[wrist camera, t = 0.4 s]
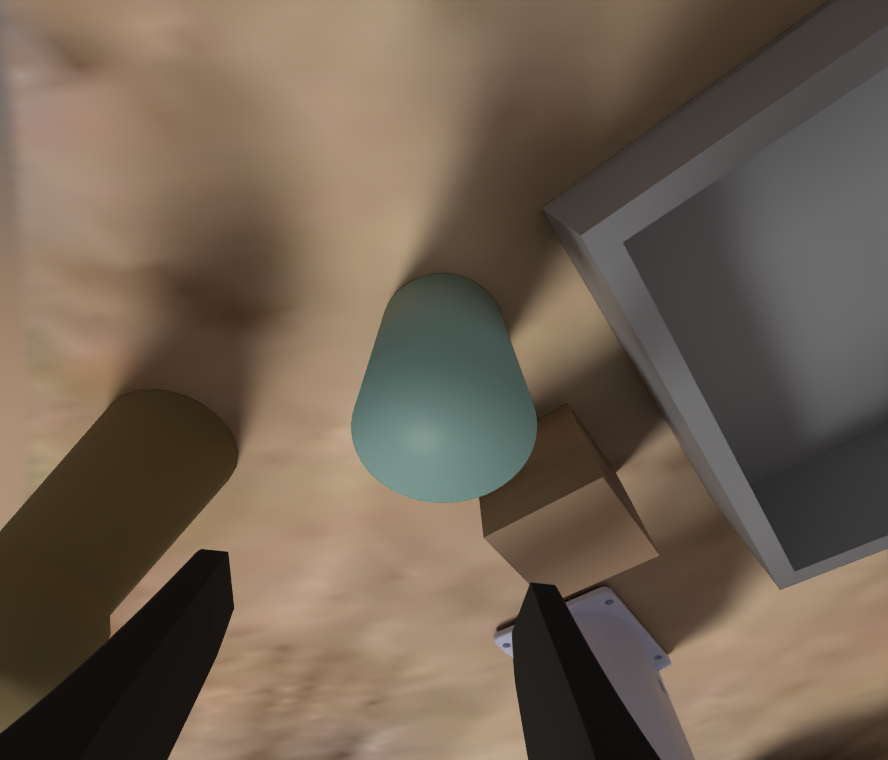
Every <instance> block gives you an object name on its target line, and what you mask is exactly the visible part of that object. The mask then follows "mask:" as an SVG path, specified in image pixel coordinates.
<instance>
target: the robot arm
mask: <svg viewBox="0 0 888 760" xmlns="http://www.w3.org/2000/svg"><path fill="white" fill-rule="evenodd" d="M233 610H234V602H233V593H232V583H231V574H230V564H229V555H228V552H225V551H215V550H205V549H201V550H199V551H198V552H196V553H195V554H194V555H193V556H192V557H191V559H190V560H189V561H188V562H187V563H186V564H185V565H184V566H183V567H182V568H181V569H180V570H179V571H178V572H177V573H176V574H175V575H174V576H173V577H172V578H171V579H170V580H169V581H168V582H167V583H166V584H165V585H164V586H163V587H162V588H161V589H160V590H159V591H158V592H157V593H156V594H155V595H154V596H153V597H152V598H151V599H150V600H149V601H148V602H147V603H146V604H145V605H144V606H143V607H142V608H141V609H140V610H139V611H138V612H137V613H136V614H135V615H134V616H133V617H132V618H131V619H130V620H129V621H128V622H127V623H126V624H125V625H124V626H122V627H121V628H120V629H119V630H118V631H117V632H116V633H115V634H114V635H113V636H112V637H111V638H110V639H109V640H108V641H107V642H106V643H105V644H103V645H102V646H101V647H100V648H99V649H98V650H97V651H96V652H95V653H94V654H92V655H91V656H90V657H89V658H88V659H87V660H86V661H85V662H83V663H82V664H81V665H80V666H79V667H78V668H77V669H76V670H74V671H73V672H72V673H71V674H70V675H69V676H68V677H67V678H66V679H64V680H63V681H62V682H61V683H60V684H59V685H58V686H56V687H55V688H54V689H53V690H52V691H51V692H50V693H48V694H47V695H46V696H45V697H44V698H42V699H41V700H40V701H39V702H38V703H37V704H35V705H34V706H33V707H32V708H31V709H29V710H28V711H27V712H26V713H25V714H23V715H22V716H21V717H20V718H18V719H17V720H16V721H15V722H14V723H12V724H11V725H10V726H9V727H7V728H6V729H5V730H4V731H2V732H1V733H0V760H167V759H168V757H169V755H170V753H171V751H172V749H173V747H174V745H175V743H176V741H177V739H178V737H179V734H180V732H181V730H182V728H183V726H184V724H185V722H186V720H187V718H188V716H189V714H190V711H191V709H192V707H193V705H194V703H195V701H196V699H197V697H198V695H199V693H200V691H201V688H202V686H203V684H204V682H205V680H206V678H207V676H208V674H209V672H210V669H211V667H212V665H213V663H214V661H215V659H216V657H217V654H218V651H219V649H220V646H221V643H222V641H223V638H224V635H225V632H226V630H227V627H228V624H229V621H230V618H231V615H232V612H233ZM494 642H495V644H496V645H498V646H499V647H500V648H501V649H502V650H503V651H505V652H506V653H507V654H508V655H509V656H510V657H512V658H513V663H514V676H515V684H516V691H517V697H518V703H519V709H520V715H521V721H522V726H523V732H524V738H525V744H526V749H527V755H528V760H695V758H694V756H693V754H692V751H691V749H690V746H689V744H688V741H687V739H686V737H685V734H684V732H683V729H682V727H681V725H680V722H679V720H678V717H677V715H676V712H675V710H674V708H673V705H672V703H671V700H670V698H669V695H668V693H667V691H666V688H665V686H664V683H663V681H662V678H661V676H660V674H659V670H662V669H665V668H667V667H669V666H670V665H671V661H670V658H669V656H668V655H667V654H666V653H665V652H664V650H663V649H662V648H661V647H660V646H659V645H658V643H657V642H656V641H655V640H654V639H653V638H652V636H651V635H650V634H649V633H648V632H647V631H646V629H645V628H644V627H643V626H642V625H641V623H640V622H639V621H638V620H637V619H636V618H635V616H634V615H633V614H632V613H631V612H630V611H629V609H628V608H627V607H626V606H625V605H624V604H623V602H622V601H621V600H620V599H619V598H618V596H617V595H616V594H615V593H614V592H613V591H612V589H610V588H609V587H600V588H597V589H595V590H593V591H590V592H588V593H586V594H584V595H581V596H579V597H577V598H574V599H572V600H570V601H567V602H565V601H564V599H563V597H562V596H561V594H560V592H559V590H558V588H557V587H556V586H555V585H552V584H542V583H532V582H531V583H530V585H529V588H528V591H527V593H526V596H525V599H524V601H523V604H522V607H521V609H520V612H519V615H518V617H517V620H516V623H515V624H514V625H512V626H510V627H507V628H505V629H503V630H501V631H498V632H497V633H495V634H494Z"/></svg>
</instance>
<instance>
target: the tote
mask: <svg viewBox="0 0 888 760" xmlns="http://www.w3.org/2000/svg"><path fill="white" fill-rule="evenodd" d="M541 209H542V211H543V212H544V214H545V216H546V218H547V219H548V221H549V223H550V224H551V226H552V228H553V229H554V231H555V233H556V235H557V236H558V238H559V240H560V241H561V243H562V245H563V246H564V248H565V250H566V252H567V253H568V255H569V257H570V258H571V260H572V262H573V263H574V265H575V267H576V269H577V270H578V272H579V274H580V275H581V277H582V279H583V280H584V282H585V284H586V286H587V287H588V289H589V291H590V292H591V294H592V296H593V297H594V299H595V301H596V303H597V304H598V306H599V308H600V309H601V311H602V313H603V314H604V316H605V318H606V320H607V321H608V323H609V325H610V326H611V328H612V330H613V331H614V333H615V335H616V337H617V338H618V340H619V342H620V343H621V345H622V347H623V348H624V350H625V352H626V354H627V355H628V357H629V359H630V360H631V362H632V364H633V365H634V367H635V369H636V371H637V372H638V374H639V376H640V377H641V379H642V381H643V382H644V384H645V386H646V388H647V389H648V391H649V393H650V394H651V396H652V398H653V400H654V401H655V403H656V405H657V406H658V408H659V410H660V411H661V413H662V415H663V417H664V418H665V420H666V422H667V423H668V425H669V427H670V428H671V430H672V432H673V434H674V435H675V437H676V439H677V440H678V442H679V444H680V445H681V447H682V449H683V451H684V452H685V454H686V456H687V457H688V459H689V461H690V462H691V464H692V466H693V468H694V469H695V471H696V473H697V474H698V476H699V478H700V479H701V481H702V483H703V485H704V486H705V488H706V490H707V491H708V493H709V495H710V496H711V498H712V500H713V502H714V503H715V504H716V506H717V507H718V508H719V510H720V511H721V512H722V514H723V515H724V516H725V518H726V519H727V520H728V522H729V523H730V524H731V526H732V527H733V528H734V530H735V531H736V532H737V533H738V535H739V536H740V537H741V539H742V540H743V541H744V543H745V544H746V545H747V547H748V548H749V549H750V551H751V552H752V553H753V555H754V556H755V557H756V559H757V560H758V561H759V563H760V564H761V565H762V567H763V568H764V569H765V570H766V572H767V573H768V574H769V576H770V577H771V578H772V580H773V581H774V582H775V584H776V585H777V586H778V588H779V589H780V590H781V589H784V588H786V587H789V586H792V585H794V584H797V583H799V582H802V581H805V580H807V579H810V578H812V577H815V576H818V575H820V574H823V573H825V572H828V571H831V570H833V569H836V568H838V567H841V566H844V565H846V564H849V563H851V562H854V561H857V560H859V559H862V558H864V557H867V556H870V555H872V554H875V553H877V552H880V551H883V550H885V549H888V0H828V1H827V2H825V3H824V4H822V5H821V6H820V7H818V8H817V9H816V10H814V11H813V12H811V13H810V14H809V15H807V16H806V17H805V18H803V19H802V20H800V21H799V22H798V23H796V24H795V25H793V26H792V27H791V28H789V29H788V30H787V31H785V32H784V33H782V34H781V35H780V36H778V37H777V38H776V39H774V40H773V41H771V42H770V43H769V44H767V45H766V46H765V47H763V48H762V49H760V50H759V51H758V52H756V53H755V54H754V55H752V56H751V57H749V58H748V59H747V60H745V61H744V62H743V63H741V64H740V65H738V66H737V67H736V68H734V69H733V70H731V71H730V72H729V73H727V74H726V75H725V76H723V77H722V78H720V79H719V80H718V81H716V82H715V83H714V84H712V85H711V86H709V87H708V88H707V89H705V90H704V91H703V92H701V93H700V94H698V95H697V96H696V97H694V98H693V99H692V100H690V101H689V102H687V103H686V104H685V105H683V106H682V107H680V108H679V109H678V110H676V111H675V112H674V113H672V114H671V115H669V116H668V117H667V118H665V119H664V120H663V121H661V122H660V123H658V124H657V125H656V126H654V127H653V128H652V129H650V130H649V131H647V132H646V133H645V134H643V135H642V136H641V137H639V138H638V139H636V140H635V141H634V142H632V143H631V144H630V145H628V146H627V147H625V148H624V149H623V150H621V151H620V152H618V153H617V154H616V155H614V156H613V157H612V158H610V159H609V160H607V161H606V162H605V163H603V164H602V165H601V166H599V167H598V168H596V169H595V170H594V171H592V172H591V173H590V174H588V175H587V176H585V177H584V178H583V179H581V180H580V181H579V182H577V183H576V184H574V185H573V186H572V187H570V188H569V189H567V190H566V191H565V192H563V193H562V194H561V195H559V196H558V197H556V198H555V199H554V200H552V201H551V202H550V203H548V204H547V205H545V206H544V207H543V208H541Z"/></svg>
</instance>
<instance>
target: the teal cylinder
mask: <svg viewBox="0 0 888 760" xmlns="http://www.w3.org/2000/svg"><path fill="white" fill-rule="evenodd" d="M351 433H352V439H353V444H354V447H355V450H356V452H357V454H358V456H359V458H360V460H361V462H362V463H363V465H364V466H365V468H366V469H367V470H368V471H369V472H370V473H371V474H372V476H373V477H375V478H376V479H377V480H378V481H379V482H380V483H382V484H383V485H385V486H386V487H388V488H389V489H391V490H393V491H395V492H397V493H399V494H401V495H404V496H406V497H409V498H412V499H416V500H420V501H426V502H434V503H454V502H461V501H467V500H471V499H475V498H478V497H481V496H483V495H486V494H488V493H490V492H492V491H494V490H496V489H498V488H499V487H501V486H503V485H504V484H505V483H507V482H508V481H509V480H511V479H512V478H513V477H514V476H515V475H516V474H517V473H518V472H519V471H520V470H521V468H522V467H523V466H524V464H525V463H526V461H527V460H528V458H529V456H530V454H531V452H532V449H533V447H534V444H535V440H536V435H537V417H536V412H535V408H534V404H533V402H532V399H531V396H530V393H529V390H528V388H527V385H526V382H525V379H524V377H523V374H522V371H521V368H520V365H519V363H518V360H517V357H516V354H515V351H514V349H513V346H512V343H511V340H510V337H509V335H508V332H507V329H506V326H505V323H504V321H503V318H502V315H501V312H500V310H499V308H498V305H497V304H496V302H495V300H494V299H493V297H492V296H491V295H490V294H489V293H488V292H487V291H486V290H485V289H484V288H483V287H482V286H480V285H479V284H478V283H476V282H474V281H472V280H470V279H468V278H466V277H463V276H460V275H455V274H448V273H435V274H430V275H425V276H422V277H419V278H417V279H415V280H412V281H411V282H409V283H407V284H406V285H404V286H403V287H402V288H401V289H400V290H398V291H397V293H396V294H395V295H394V296H393V297H392V299H391V300H390V302H389V303H388V305H387V307H386V309H385V312H384V315H383V318H382V321H381V324H380V328H379V331H378V334H377V337H376V340H375V344H374V347H373V350H372V353H371V356H370V360H369V363H368V366H367V369H366V372H365V376H364V379H363V382H362V385H361V388H360V392H359V395H358V398H357V401H356V404H355V408H354V411H353V415H352V422H351Z"/></svg>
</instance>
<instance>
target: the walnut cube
mask: <svg viewBox="0 0 888 760" xmlns="http://www.w3.org/2000/svg"><path fill="white" fill-rule="evenodd" d="M479 500H480V509H481V518H482V527H483V536H484V538H485V539H486V541H487V542H488V543H489V544H490V545H491V546H492V547H493V548H494V549H495V550H496V551H497V552H498V553H499V554H500V555H501V556H502V557H503V558H504V559H505V560H506V561H507V562H508V563H509V564H510V565H511V566H512V567H513V568H514V569H515V570H516V571H517V572H518V573H519V574H520V575H521V576H522V577H523V578H524V579H525V580H526V581H527V582H528V583H529V584H530V583H531V582H532V583H542V584H552V585H555V586H556V587H557V588H558V590H559V592H560V594H561V596H562V597H563V598H564V597H566V596H568V595H571V594H573V593H575V592H578V591H580V590H582V589H584V588H587V587H589V586H591V585H594V584H596V583H598V582H600V581H603V580H605V579H607V578H610V577H612V576H614V575H616V574H619V573H621V572H623V571H626V570H628V569H630V568H632V567H635V566H637V565H639V564H642V563H644V562H646V561H648V560H651V559H653V558H655V557H658V556H660V555H659V553H658V551H657V549H656V548H655V546H654V544H653V542H652V540H651V538H650V536H649V534H648V532H647V531H646V529H645V527H644V525H643V523H642V521H641V519H640V517H639V515H638V514H637V512H636V510H635V508H634V506H633V504H632V502H631V500H630V498H629V497H628V495H627V493H626V491H625V489H624V487H623V485H622V483H621V481H620V480H619V478H618V476H617V474H616V472H615V471H614V469H613V468H612V466H611V465H610V464H609V462H608V461H607V459H606V458H605V457H604V455H603V454H602V452H601V451H600V449H599V448H598V447H597V445H596V444H595V442H594V441H593V439H592V438H591V437H590V435H589V434H588V432H587V431H586V429H585V428H584V427H583V425H582V424H581V422H580V421H579V420H578V418H577V417H576V415H575V414H574V412H573V411H572V410H571V408H570V407H569V405H568V404H567V403H566V404H564V405H562V406H561V407H559V408H557V409H556V410H554V411H552V412H550V413H549V414H547V415H545V416H543V417H542V418H540V419H538V420H537V435H536V440H535V444H534V447H533V449H532V452H531V454H530V456H529V458H528V460H527V461H526V463H525V464H524V466H523V467H522V468H521V470H520V471H519V472H518V473H517V474H516V475H515V476H514V477H513V478H512V479H511V480H509V481H508V482H507V483H505V484H504V485H503V486H501V487H499V488H498V489H496V490H494V491H492V492H490V493H488V494H486V495H483V496H481V497H479Z"/></svg>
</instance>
